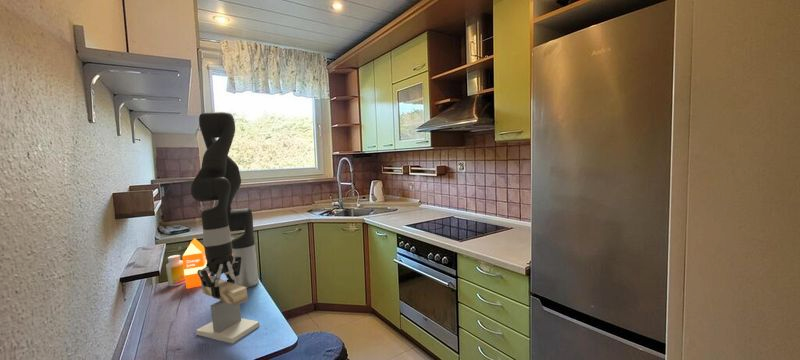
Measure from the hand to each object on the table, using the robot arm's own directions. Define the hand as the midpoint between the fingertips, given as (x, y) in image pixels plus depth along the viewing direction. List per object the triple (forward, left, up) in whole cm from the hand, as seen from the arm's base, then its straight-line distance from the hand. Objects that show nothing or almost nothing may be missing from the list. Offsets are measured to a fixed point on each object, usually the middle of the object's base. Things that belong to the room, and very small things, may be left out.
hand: (224, 294), depth 103 cm
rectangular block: (0, 0, -1) cm, 1 cm away
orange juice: (-51, +25, -12) cm, 58 cm away
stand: (0, 0, -12) cm, 12 cm away
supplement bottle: (-61, +22, -12) cm, 66 cm away
